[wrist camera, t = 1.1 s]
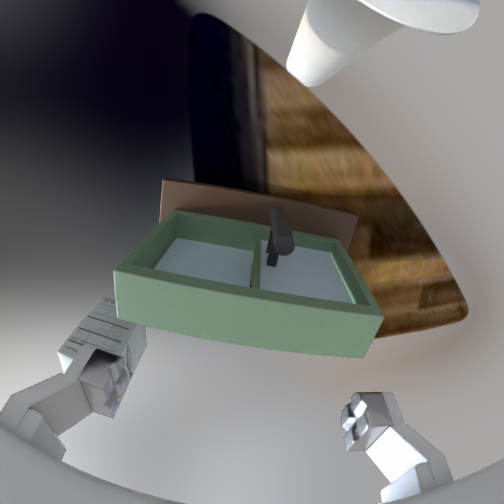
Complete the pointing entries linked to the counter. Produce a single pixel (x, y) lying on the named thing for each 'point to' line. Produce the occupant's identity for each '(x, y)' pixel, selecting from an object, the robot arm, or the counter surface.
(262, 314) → the window frame
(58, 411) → the robot arm
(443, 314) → the counter surface
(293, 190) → the counter surface
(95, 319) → the white packaging box
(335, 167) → the counter surface
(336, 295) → the sliding pane
